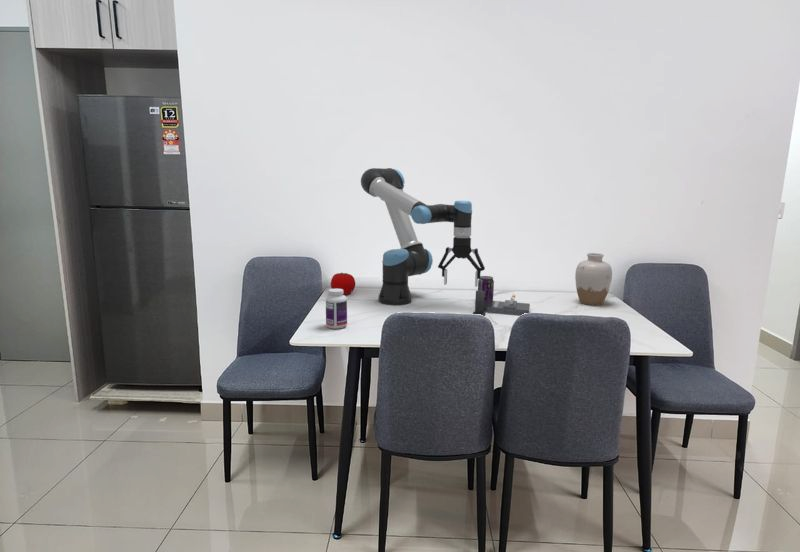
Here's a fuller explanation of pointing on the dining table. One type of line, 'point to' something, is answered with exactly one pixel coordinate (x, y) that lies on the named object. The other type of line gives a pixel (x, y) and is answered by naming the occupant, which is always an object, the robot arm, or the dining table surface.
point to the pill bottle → (336, 309)
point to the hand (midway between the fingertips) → (460, 285)
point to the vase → (593, 279)
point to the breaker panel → (506, 307)
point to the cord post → (479, 303)
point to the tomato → (343, 282)
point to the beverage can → (486, 287)
